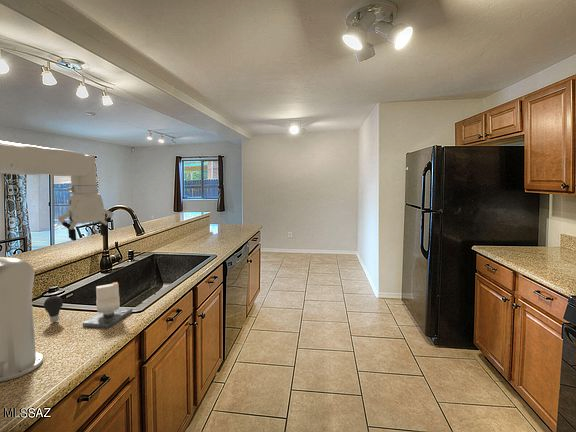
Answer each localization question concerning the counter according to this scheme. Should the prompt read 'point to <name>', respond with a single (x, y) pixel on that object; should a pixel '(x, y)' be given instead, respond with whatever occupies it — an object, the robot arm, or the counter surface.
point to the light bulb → (53, 307)
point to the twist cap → (107, 297)
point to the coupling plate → (107, 318)
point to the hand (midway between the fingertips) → (88, 237)
